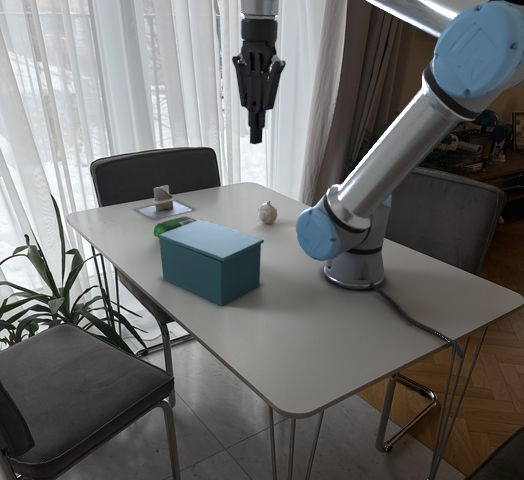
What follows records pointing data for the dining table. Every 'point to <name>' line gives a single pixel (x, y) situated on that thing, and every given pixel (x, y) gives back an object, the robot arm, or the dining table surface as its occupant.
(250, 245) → the lunchbox lid
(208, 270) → the box
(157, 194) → the architectural model
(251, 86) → the robot arm
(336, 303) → the dining table surface
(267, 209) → the garlic bulb
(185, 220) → the snack package
